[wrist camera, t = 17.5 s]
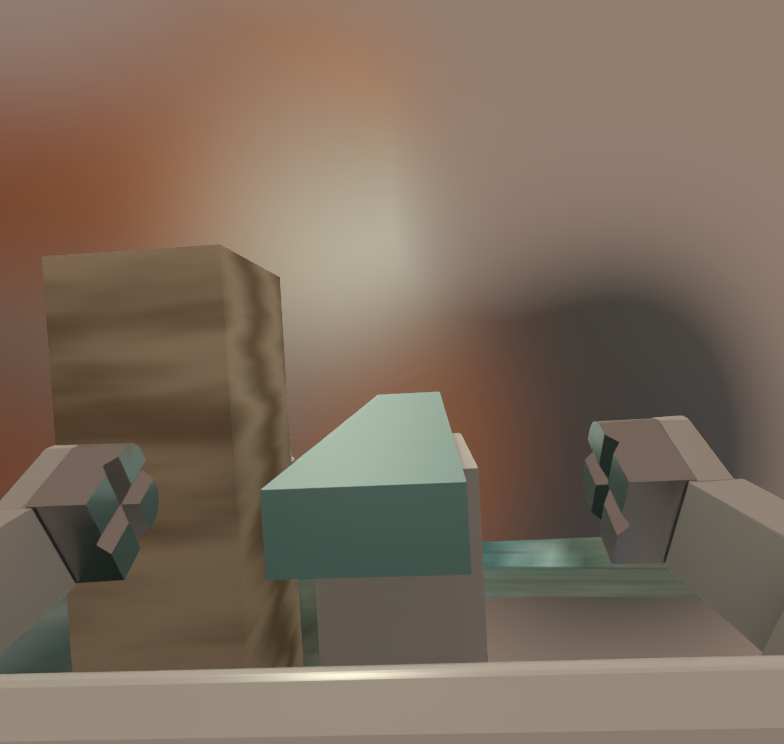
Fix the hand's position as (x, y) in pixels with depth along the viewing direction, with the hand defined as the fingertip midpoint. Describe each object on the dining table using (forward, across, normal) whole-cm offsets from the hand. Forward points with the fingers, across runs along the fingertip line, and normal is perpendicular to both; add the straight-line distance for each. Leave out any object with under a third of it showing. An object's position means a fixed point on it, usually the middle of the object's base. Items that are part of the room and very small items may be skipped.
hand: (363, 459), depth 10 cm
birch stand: (+6, -11, -26) cm, 29 cm away
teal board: (+12, 0, -10) cm, 16 cm away
